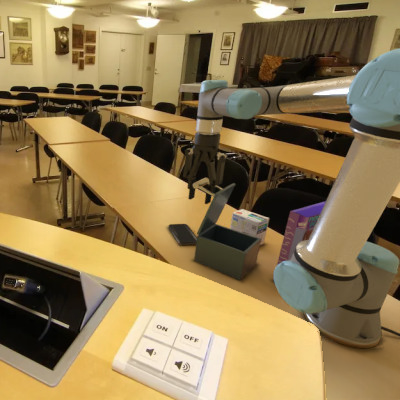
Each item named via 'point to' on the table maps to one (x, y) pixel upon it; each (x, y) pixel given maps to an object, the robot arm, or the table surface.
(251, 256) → the dark green box
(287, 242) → the cereal box
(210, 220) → the lid
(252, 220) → the light bulb box
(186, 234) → the phone
